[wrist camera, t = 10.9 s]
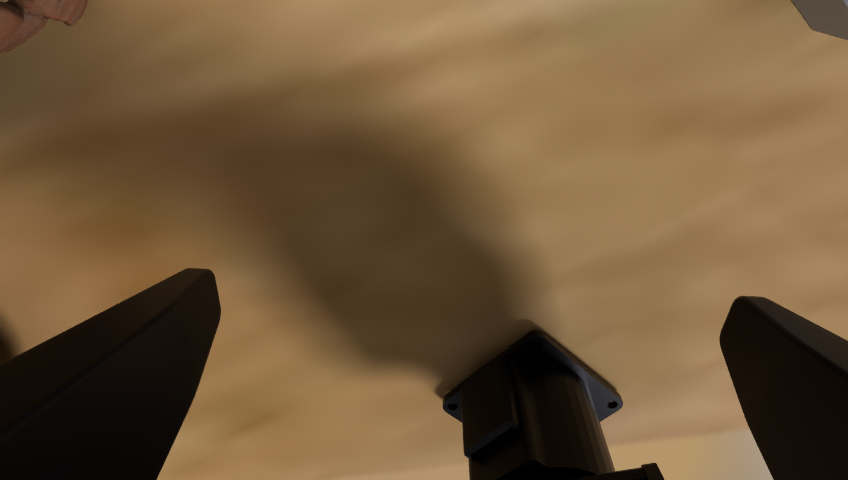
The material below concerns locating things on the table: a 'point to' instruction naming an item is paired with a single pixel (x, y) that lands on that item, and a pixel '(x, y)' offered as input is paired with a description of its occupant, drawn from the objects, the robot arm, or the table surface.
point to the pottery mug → (34, 18)
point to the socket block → (825, 16)
